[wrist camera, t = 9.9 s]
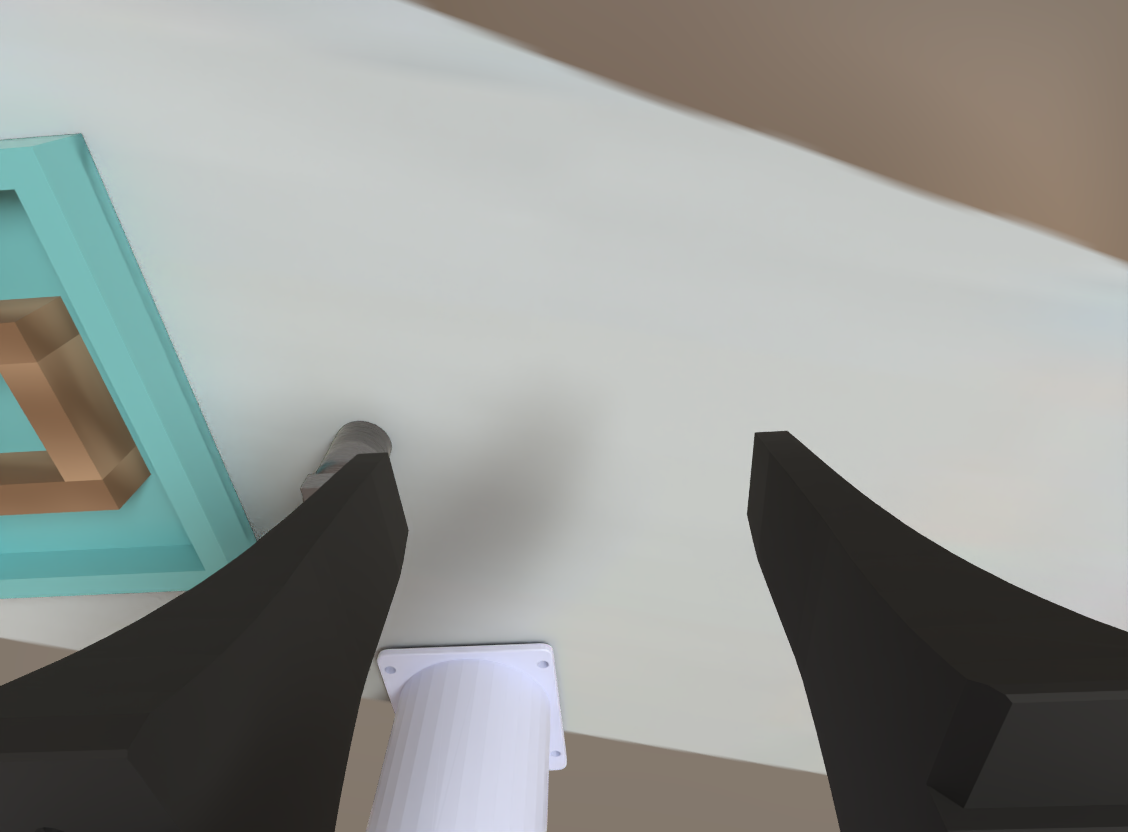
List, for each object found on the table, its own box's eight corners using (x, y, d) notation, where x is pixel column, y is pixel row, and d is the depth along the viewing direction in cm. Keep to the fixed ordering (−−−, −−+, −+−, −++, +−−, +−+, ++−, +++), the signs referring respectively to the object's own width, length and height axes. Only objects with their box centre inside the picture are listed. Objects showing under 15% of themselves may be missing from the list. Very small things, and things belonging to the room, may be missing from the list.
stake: (398, 471, 25) (368, 549, 21) (346, 473, 25) (308, 552, 21) (383, 412, 23) (348, 486, 20) (328, 415, 23) (283, 489, 20)
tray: (261, 551, 27) (240, 588, 25) (-18, 564, 28) (-56, 601, 26) (81, 133, 19) (31, 146, 17) (-315, 165, 19) (-401, 180, 17)
